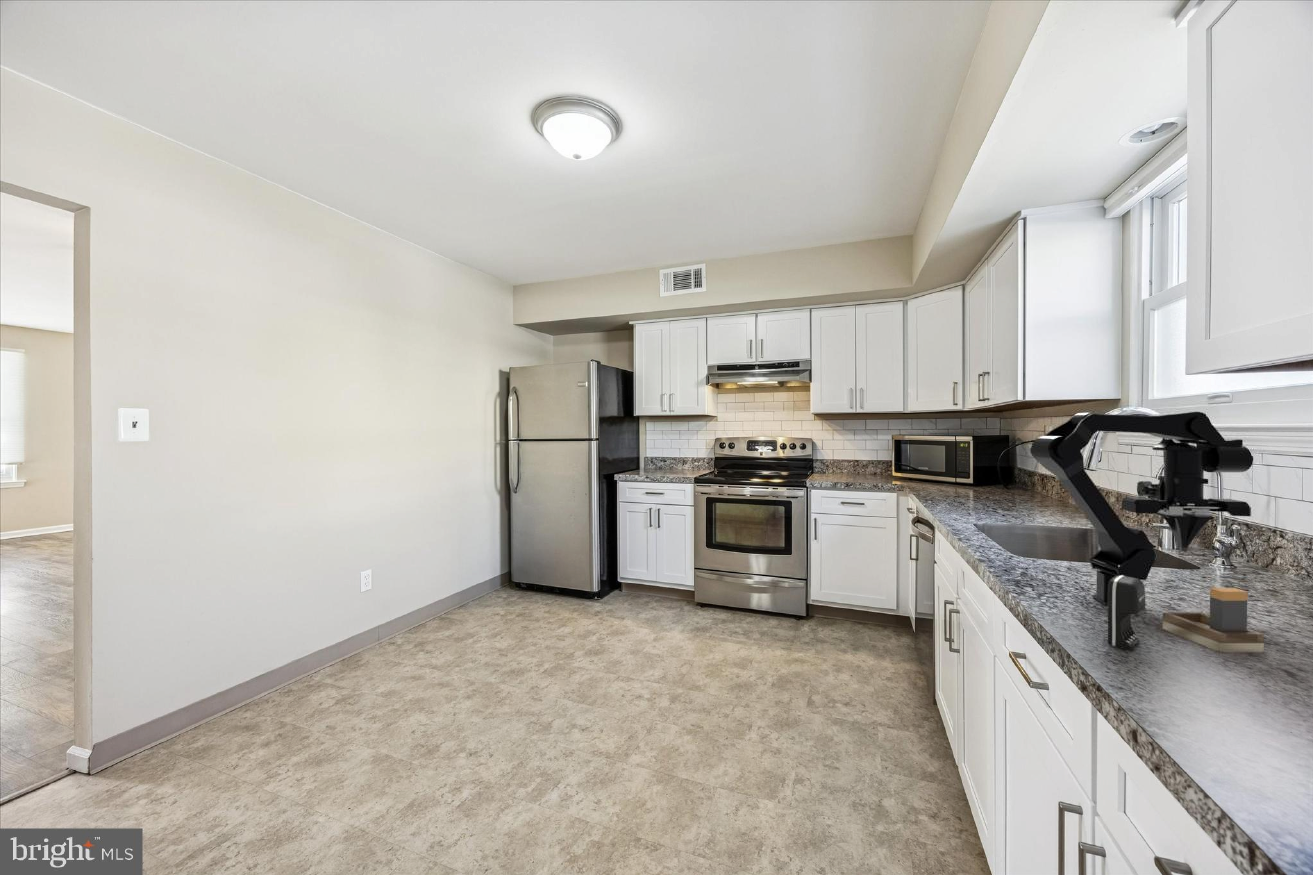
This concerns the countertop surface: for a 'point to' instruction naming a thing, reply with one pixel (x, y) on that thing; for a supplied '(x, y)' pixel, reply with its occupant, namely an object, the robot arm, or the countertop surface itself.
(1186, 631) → the tray
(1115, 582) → the battery charger
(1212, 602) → the fader lever
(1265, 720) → the countertop surface
